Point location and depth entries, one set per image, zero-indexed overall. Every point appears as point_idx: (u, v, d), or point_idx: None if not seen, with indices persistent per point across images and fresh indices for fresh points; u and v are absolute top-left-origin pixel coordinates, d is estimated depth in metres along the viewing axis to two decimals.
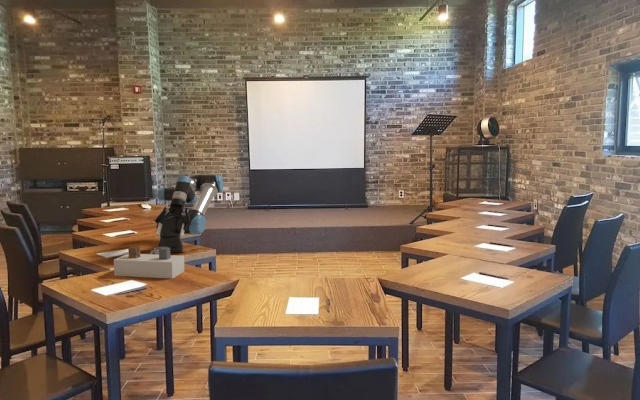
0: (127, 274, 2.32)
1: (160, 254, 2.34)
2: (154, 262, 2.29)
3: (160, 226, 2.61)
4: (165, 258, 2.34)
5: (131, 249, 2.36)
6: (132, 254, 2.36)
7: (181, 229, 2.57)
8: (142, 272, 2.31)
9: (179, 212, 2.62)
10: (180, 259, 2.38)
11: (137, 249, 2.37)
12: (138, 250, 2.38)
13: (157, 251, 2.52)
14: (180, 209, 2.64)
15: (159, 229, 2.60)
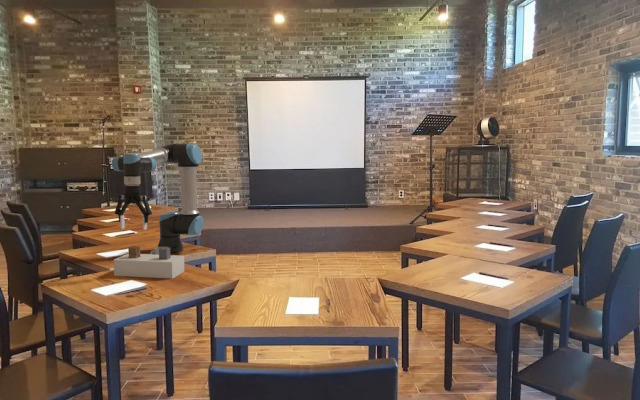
0: (127, 274, 2.32)
1: (160, 254, 2.34)
2: (154, 262, 2.29)
3: (122, 218, 2.37)
4: (165, 258, 2.34)
5: (131, 249, 2.36)
6: (132, 254, 2.36)
7: (143, 223, 2.34)
8: (142, 272, 2.31)
9: (136, 202, 2.33)
10: (180, 259, 2.38)
11: (137, 249, 2.37)
12: (138, 250, 2.38)
13: (157, 251, 2.52)
14: (137, 197, 2.33)
15: (122, 222, 2.37)
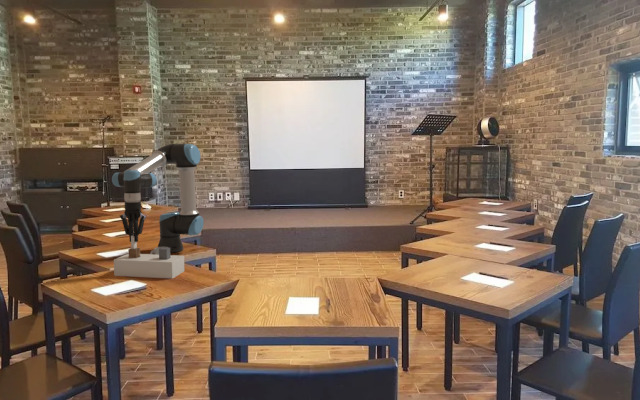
0: (127, 274, 2.32)
1: (160, 254, 2.34)
2: (154, 262, 2.29)
3: None
4: (165, 258, 2.34)
5: (131, 251, 2.36)
6: (132, 256, 2.36)
7: (132, 243, 2.36)
8: (142, 272, 2.31)
9: (134, 220, 2.34)
10: (180, 259, 2.38)
11: (137, 250, 2.37)
12: (138, 251, 2.38)
13: (157, 251, 2.52)
14: (137, 213, 2.34)
15: None
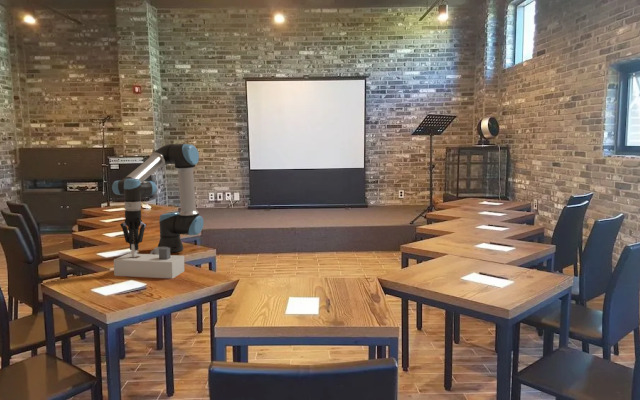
0: (127, 274, 2.32)
1: (160, 254, 2.34)
2: (154, 262, 2.29)
3: None
4: (165, 258, 2.34)
5: None
6: None
7: (133, 251, 2.36)
8: (142, 272, 2.31)
9: (134, 228, 2.34)
10: (180, 259, 2.38)
11: None
12: None
13: (157, 251, 2.52)
14: (137, 222, 2.35)
15: None
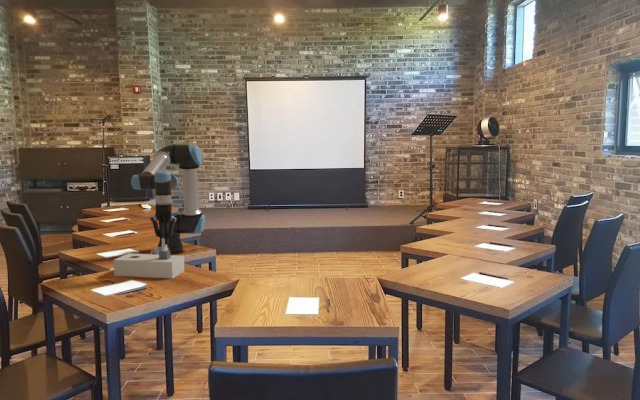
0: (127, 274, 2.32)
1: (160, 256, 2.34)
2: (154, 262, 2.29)
3: None
4: None
5: None
6: None
7: (163, 245, 2.34)
8: (142, 272, 2.31)
9: (165, 222, 2.32)
10: (180, 259, 2.38)
11: None
12: None
13: (157, 251, 2.52)
14: (168, 215, 2.32)
15: None
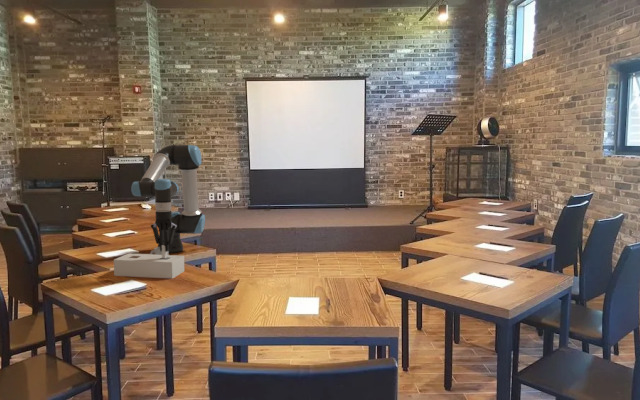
0: (127, 274, 2.32)
1: None
2: (154, 262, 2.29)
3: None
4: None
5: None
6: None
7: (163, 252, 2.34)
8: (142, 272, 2.31)
9: (165, 229, 2.32)
10: (180, 259, 2.38)
11: None
12: None
13: (157, 251, 2.52)
14: (168, 223, 2.32)
15: None
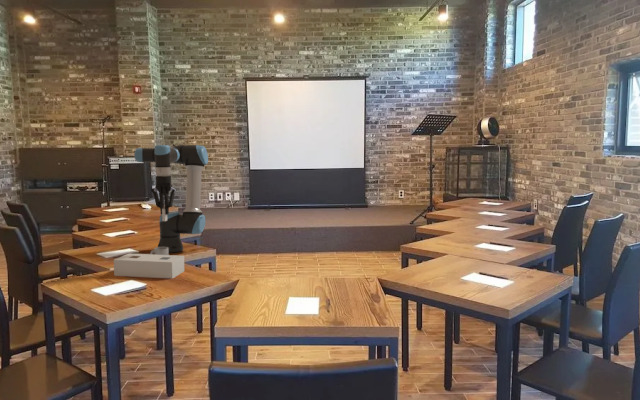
0: (127, 274, 2.32)
1: None
2: (154, 262, 2.29)
3: None
4: None
5: None
6: None
7: (163, 215, 2.45)
8: (142, 272, 2.31)
9: (165, 193, 2.42)
10: (180, 259, 2.38)
11: None
12: None
13: (157, 251, 2.52)
14: (168, 187, 2.42)
15: None
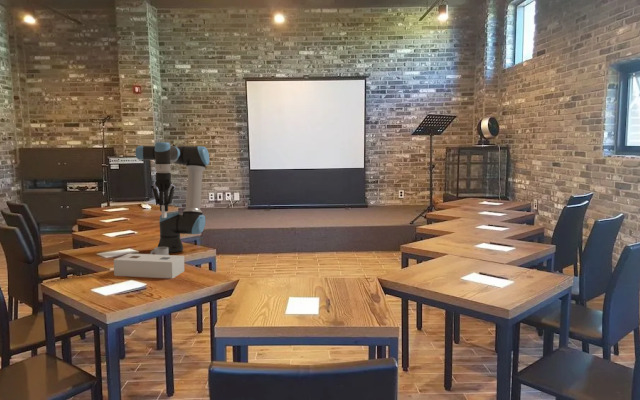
0: (127, 274, 2.32)
1: None
2: (154, 262, 2.29)
3: None
4: None
5: None
6: None
7: (163, 212, 2.46)
8: (142, 272, 2.31)
9: (164, 190, 2.44)
10: (180, 259, 2.38)
11: None
12: None
13: (157, 251, 2.52)
14: (167, 183, 2.44)
15: None
